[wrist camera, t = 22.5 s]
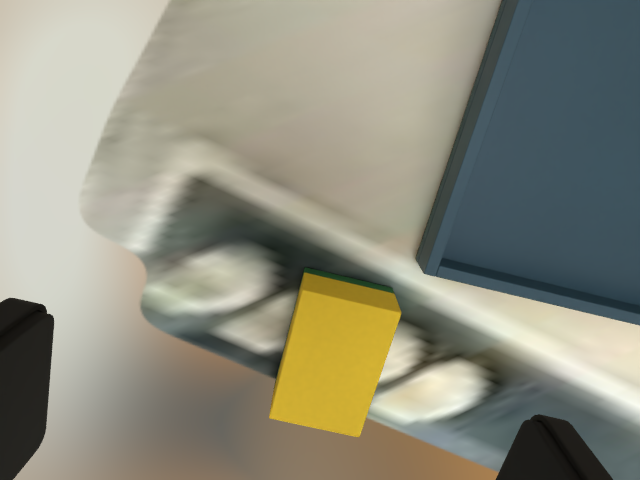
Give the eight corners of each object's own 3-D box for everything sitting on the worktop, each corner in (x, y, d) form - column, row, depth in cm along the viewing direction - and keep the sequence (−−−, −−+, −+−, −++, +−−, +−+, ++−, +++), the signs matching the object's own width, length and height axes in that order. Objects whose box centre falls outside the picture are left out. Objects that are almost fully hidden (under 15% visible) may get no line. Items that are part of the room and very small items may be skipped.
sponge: (355, 401, 35) (359, 438, 31) (274, 383, 34) (268, 418, 31) (392, 287, 32) (401, 312, 28) (304, 266, 32) (302, 289, 28)
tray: (415, 259, 31) (423, 274, 29) (546, -134, 24) (574, -162, 22) (670, 320, 33) (701, 340, 30) (864, -35, 26) (927, -51, 23)
